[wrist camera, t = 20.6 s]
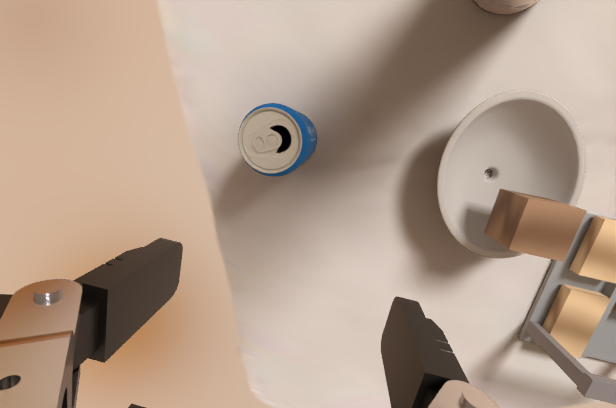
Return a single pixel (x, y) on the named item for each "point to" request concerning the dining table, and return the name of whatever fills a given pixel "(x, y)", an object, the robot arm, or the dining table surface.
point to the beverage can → (276, 139)
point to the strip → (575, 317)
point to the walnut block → (533, 224)
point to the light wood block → (597, 251)
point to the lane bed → (605, 339)
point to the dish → (508, 163)
